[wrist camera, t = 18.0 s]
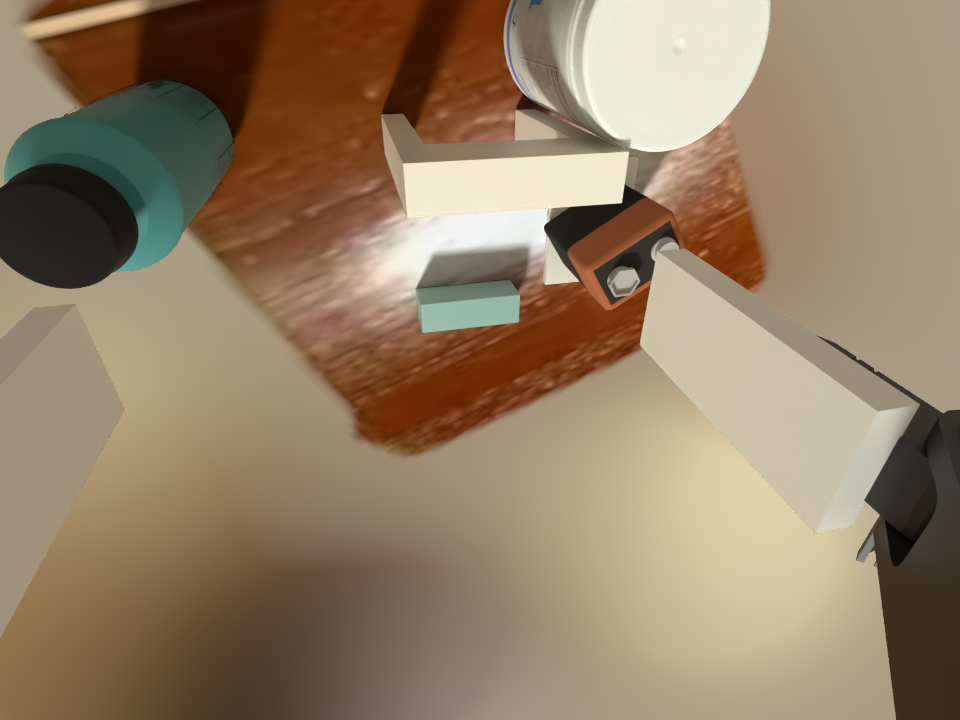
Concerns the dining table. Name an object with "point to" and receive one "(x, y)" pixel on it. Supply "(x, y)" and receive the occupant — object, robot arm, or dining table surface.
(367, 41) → the dining table surface
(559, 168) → the white u-shaped bracket
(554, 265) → the mat
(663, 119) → the supplement tub
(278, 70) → the dining table surface
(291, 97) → the dining table surface
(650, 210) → the battery
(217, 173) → the beverage bottle
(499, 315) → the block
